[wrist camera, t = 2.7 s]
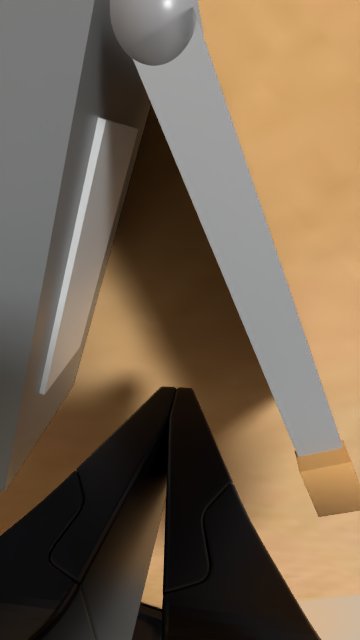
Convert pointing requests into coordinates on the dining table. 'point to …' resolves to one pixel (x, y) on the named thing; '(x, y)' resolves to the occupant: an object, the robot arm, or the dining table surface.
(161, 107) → the side door
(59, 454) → the dining table surface
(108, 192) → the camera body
